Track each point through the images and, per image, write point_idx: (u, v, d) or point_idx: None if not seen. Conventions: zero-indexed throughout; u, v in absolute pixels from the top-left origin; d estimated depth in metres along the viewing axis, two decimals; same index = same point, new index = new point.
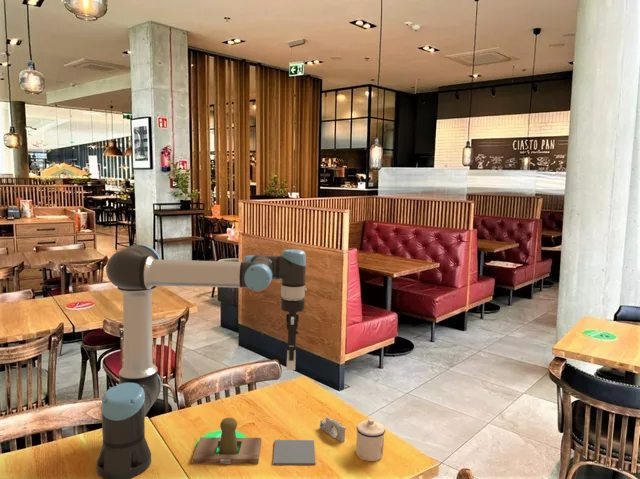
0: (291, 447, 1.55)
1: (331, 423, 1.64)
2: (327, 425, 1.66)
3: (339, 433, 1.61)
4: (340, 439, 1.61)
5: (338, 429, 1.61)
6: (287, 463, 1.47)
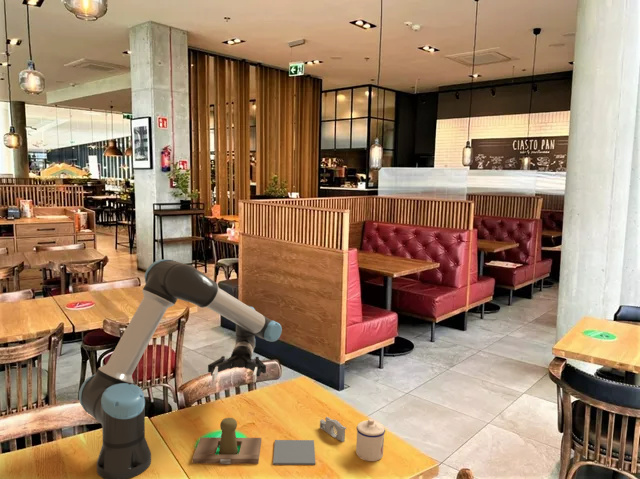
0: (291, 447, 1.55)
1: (331, 423, 1.64)
2: (327, 425, 1.66)
3: (339, 433, 1.61)
4: (340, 439, 1.61)
5: (338, 429, 1.62)
6: (287, 463, 1.47)
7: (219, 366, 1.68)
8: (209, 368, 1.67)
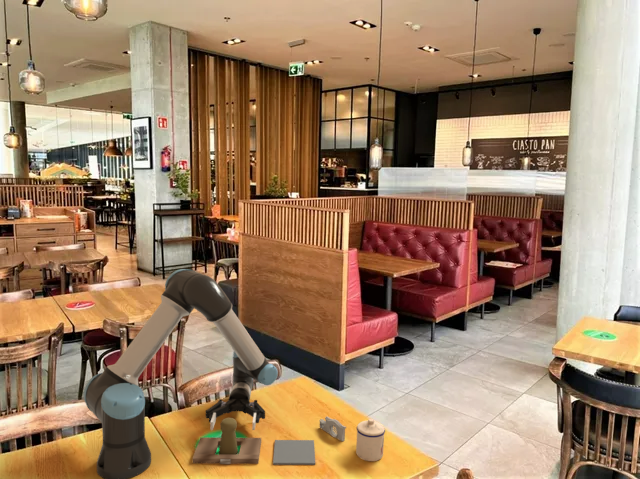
0: (291, 447, 1.55)
1: (331, 422, 1.65)
2: (327, 424, 1.66)
3: (339, 432, 1.62)
4: (340, 438, 1.61)
5: (338, 428, 1.62)
6: (287, 463, 1.47)
7: (217, 412, 1.64)
8: (207, 414, 1.63)
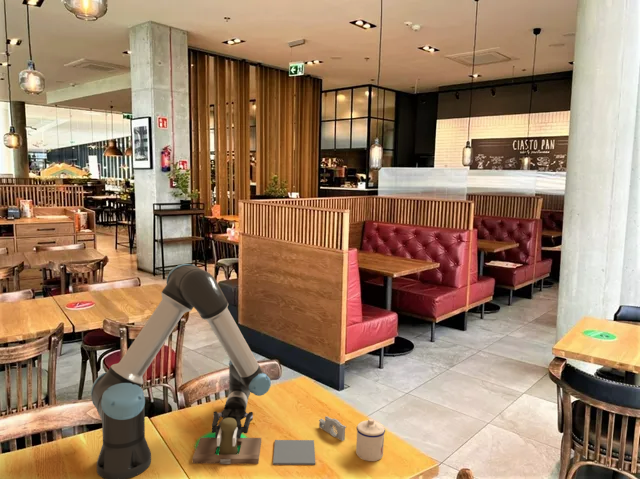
0: (291, 447, 1.55)
1: (331, 422, 1.65)
2: (326, 424, 1.66)
3: (339, 432, 1.62)
4: (340, 438, 1.62)
5: (338, 428, 1.62)
6: (287, 463, 1.47)
7: None
8: (214, 428, 1.53)
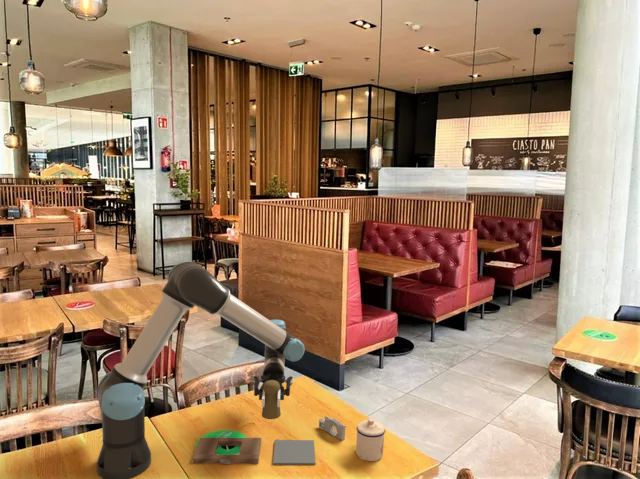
0: (291, 447, 1.55)
1: (331, 422, 1.65)
2: (326, 424, 1.67)
3: (339, 431, 1.62)
4: (340, 437, 1.62)
5: (338, 427, 1.63)
6: (287, 463, 1.47)
7: None
8: (256, 391, 1.54)
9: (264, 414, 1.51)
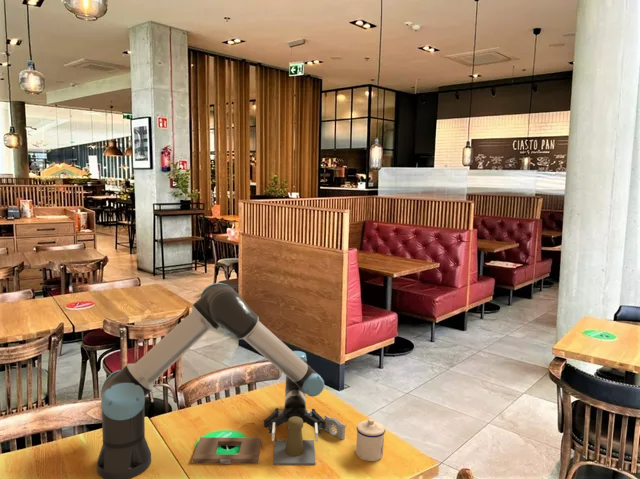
0: None
1: (330, 421, 1.66)
2: (326, 423, 1.67)
3: (339, 431, 1.63)
4: (340, 436, 1.63)
5: (338, 427, 1.63)
6: (287, 463, 1.47)
7: (276, 421, 1.57)
8: (265, 424, 1.56)
9: (288, 451, 1.51)
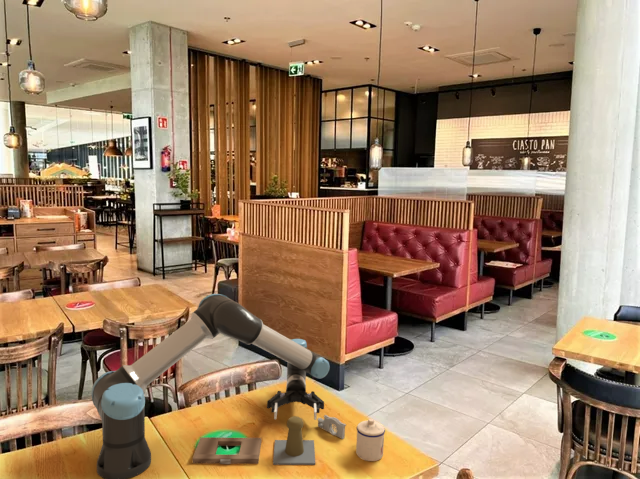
0: None
1: (330, 421, 1.66)
2: (326, 423, 1.67)
3: (339, 430, 1.63)
4: (340, 436, 1.63)
5: (338, 426, 1.63)
6: (287, 463, 1.47)
7: (278, 402, 1.70)
8: (268, 404, 1.69)
9: (288, 451, 1.51)
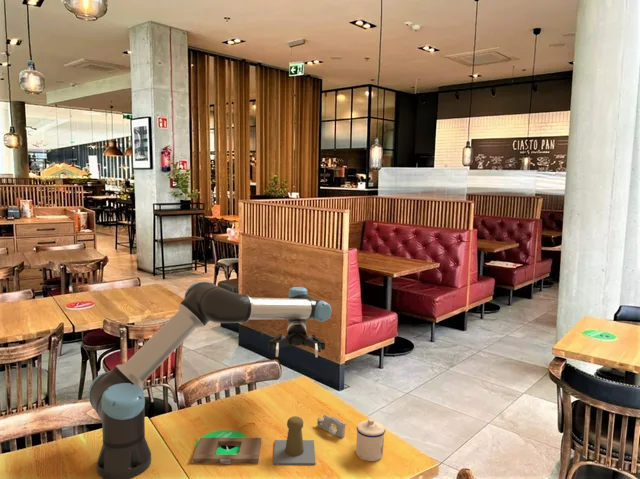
0: None
1: (330, 420, 1.66)
2: (325, 422, 1.68)
3: (339, 429, 1.64)
4: (340, 435, 1.63)
5: (338, 425, 1.64)
6: (287, 463, 1.47)
7: (279, 342, 1.71)
8: (270, 344, 1.70)
9: (288, 451, 1.51)
